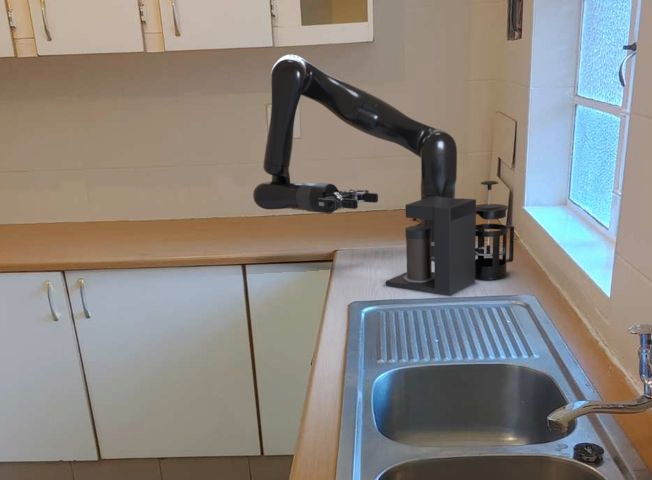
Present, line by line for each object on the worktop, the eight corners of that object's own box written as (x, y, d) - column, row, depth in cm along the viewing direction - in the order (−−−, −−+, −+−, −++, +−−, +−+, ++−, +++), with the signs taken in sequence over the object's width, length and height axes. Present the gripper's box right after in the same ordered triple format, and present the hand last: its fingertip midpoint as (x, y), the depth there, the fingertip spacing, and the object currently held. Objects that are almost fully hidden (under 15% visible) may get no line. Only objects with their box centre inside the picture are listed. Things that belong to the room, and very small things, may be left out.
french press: (475, 282, 182) (476, 186, 173) (460, 273, 190) (460, 180, 181) (520, 276, 184) (523, 181, 175) (503, 267, 193) (505, 176, 184)
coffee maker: (385, 285, 184) (382, 203, 176) (412, 273, 193) (411, 194, 185) (449, 295, 173) (449, 208, 166) (475, 282, 182) (476, 199, 174)
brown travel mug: (411, 272, 188) (410, 225, 183) (435, 274, 186) (434, 225, 181) (403, 279, 183) (401, 230, 178) (427, 280, 180) (426, 231, 176)
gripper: (298, 187, 190) (348, 190, 181) (333, 178, 200) (383, 181, 191) (300, 217, 193) (350, 221, 184) (335, 207, 203) (384, 210, 194)
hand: (367, 201), depth 187 cm, fingers open, 8 cm apart
